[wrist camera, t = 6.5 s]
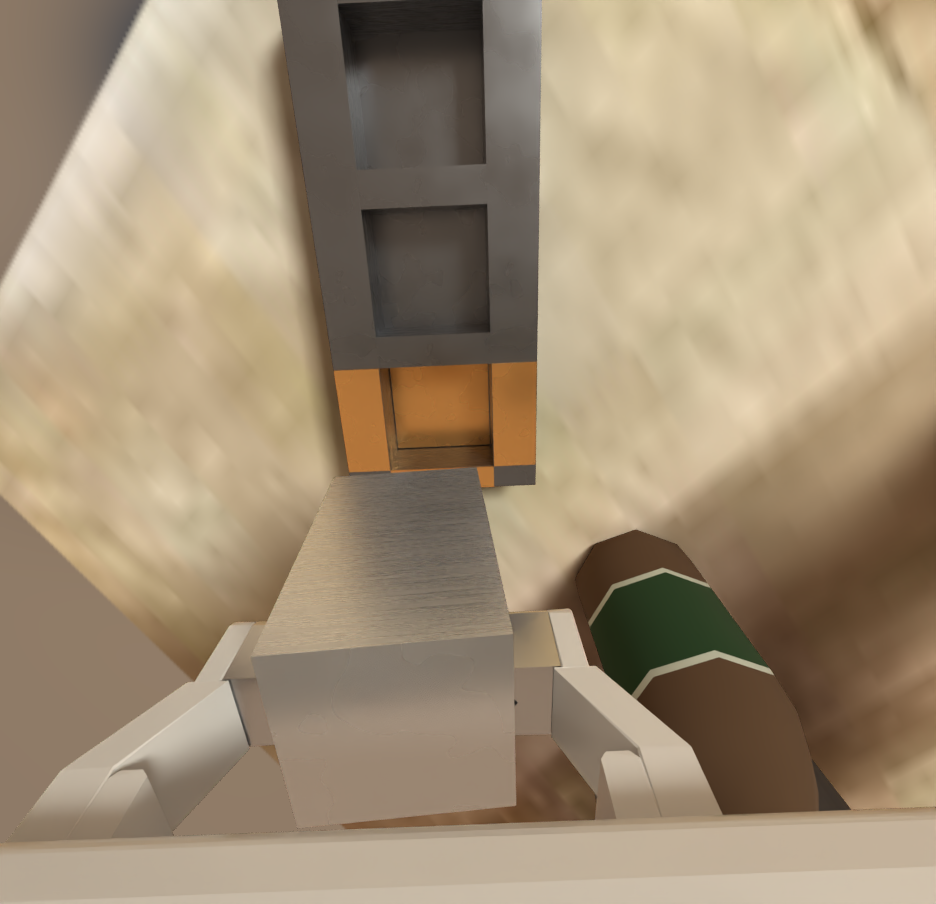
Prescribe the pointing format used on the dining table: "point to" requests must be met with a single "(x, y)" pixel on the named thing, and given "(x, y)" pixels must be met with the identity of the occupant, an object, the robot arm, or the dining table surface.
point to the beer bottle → (696, 673)
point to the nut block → (392, 655)
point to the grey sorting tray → (425, 224)
